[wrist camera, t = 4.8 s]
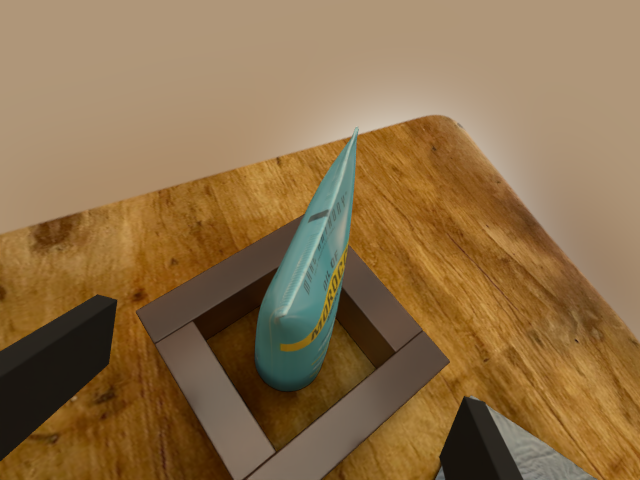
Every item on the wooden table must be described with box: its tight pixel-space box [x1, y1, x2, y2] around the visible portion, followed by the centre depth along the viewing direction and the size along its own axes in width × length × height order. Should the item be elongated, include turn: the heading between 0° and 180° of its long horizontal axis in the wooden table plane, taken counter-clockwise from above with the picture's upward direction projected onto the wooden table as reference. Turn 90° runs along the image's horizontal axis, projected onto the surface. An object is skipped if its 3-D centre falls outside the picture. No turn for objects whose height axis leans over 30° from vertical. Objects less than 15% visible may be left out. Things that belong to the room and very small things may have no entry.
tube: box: [255, 127, 359, 391], centre depth 20 cm, size 7×5×19 cm, turn 167°
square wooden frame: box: [136, 215, 450, 480], centre depth 27 cm, size 14×14×5 cm
